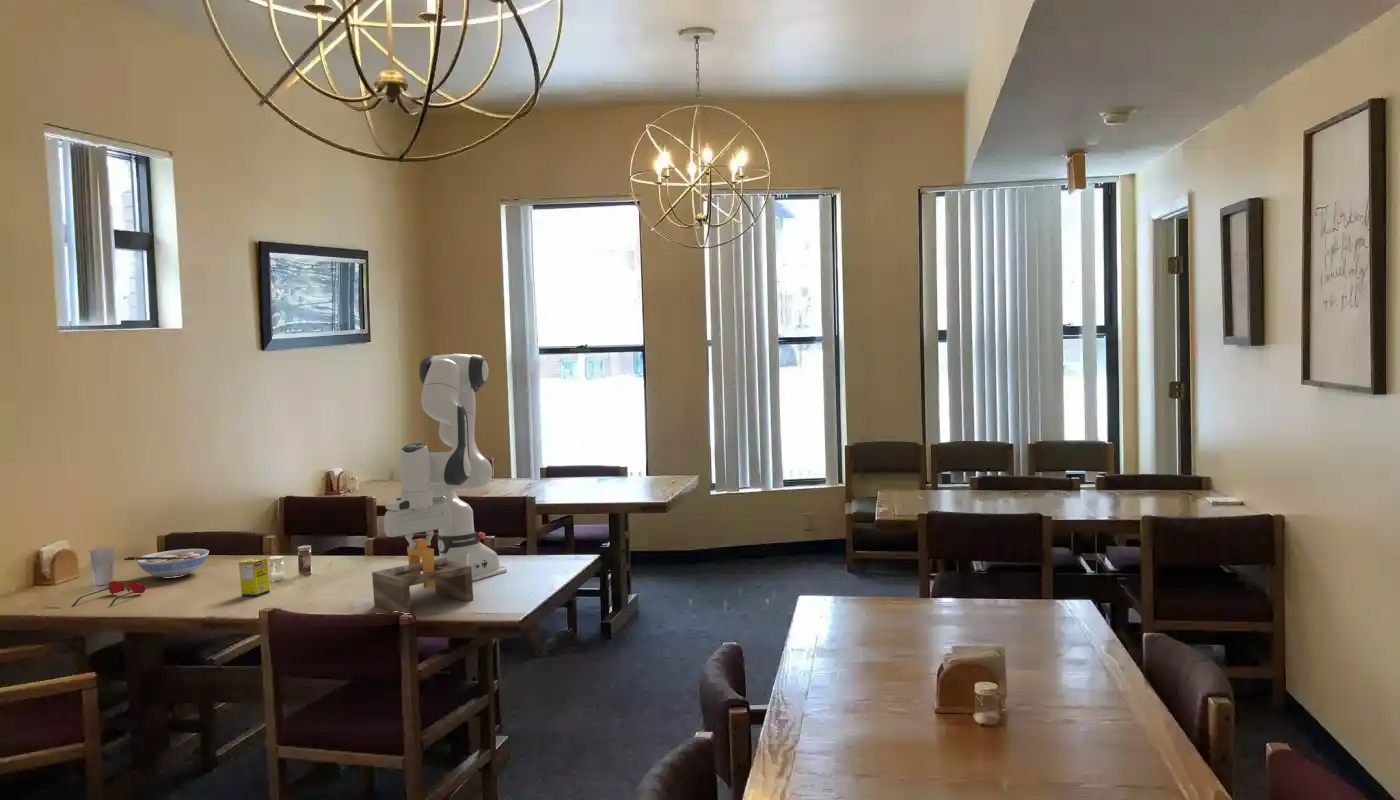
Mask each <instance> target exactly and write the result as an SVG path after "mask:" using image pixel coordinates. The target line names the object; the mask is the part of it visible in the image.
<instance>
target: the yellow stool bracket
mask: <svg viewBox="0 0 1400 800" xmlns="http://www.w3.org/2000/svg"><path fill="white" fill-rule="evenodd" d="M412 540H413V542H416V543H417V548H416V549H410V546H409V545H408V546H407V547H406V550H407V552H406V553H407V556H408V559H407V560H408V565H410V564H415V563H420V562H422V566H423V571H421V569H420V570H415V571H411V572H413V573H416V574H424V573H429V572H433V571H434V560H435V559H434V556H435V549H434V548H431V547H428V546H427V539H426V538H423V537H422V538H417V539H412ZM433 587H434V588H435V581H431V582H426V583H423V588H424V589H429V588H433Z"/></svg>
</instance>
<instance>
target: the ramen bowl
mask: <svg viewBox="0 0 1400 800" xmlns="http://www.w3.org/2000/svg"><path fill="white" fill-rule="evenodd" d="M209 553H210V550H208V549H206V548H205V549H204V548H185V549H183V548H182V549H175V550H174V549H172V550H166V551H159V552H154V553H153V552H152V553H150V554H146V555H142V556H140V557H139V556H128V557H125V558H123V560H124V561H135V562H136V564H137V565H138V566H139V567H140V569H142V570H143V572H145V573H146V574H148V575H151V576H154V577H159V578H162V577H173V576H181V575H185V574H187V575H189V574H190V573H193V572H194V571H196V570H198V569H199V568H200V567H201V566H202V565H203V564H204V563H205V561H206V559H207V558H208V555H209Z"/></svg>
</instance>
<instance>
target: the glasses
mask: <svg viewBox="0 0 1400 800" xmlns="http://www.w3.org/2000/svg"><path fill="white" fill-rule="evenodd" d="M125 583H129V584H127V587H128V588H127V591H128V593H124V594H123V595H118V596H117V597H115V598H114V599H113V600H112V601H111V603H110V604H109V606H111V605H112V606H113V605H114V603H115V601H116V600H117V599H119V598H122V597H125V596H128V595H131V594H133V593H134V594H135V593H142V594H143V593H145V592H146V590H147V588H148V587H147V586H146V585H144V583H143V582H142V581H139V580H138V581H137V580H129V581H128V580H125V581H124V580H113V581H110V582H109V583H108V586H107V588H103V589H101V590H98V591H95V592H92V593H88V594H85V595H83V596H82V595H81V596H79V598H78V599H76V601H75V602H74V603H73V604H72V605H71V608H74V607H75V606H76V604H77V603H78V602H79V601H80V600H81V599H82V598H85V597H87V596H91V595H94V594H98V593H100V592H103V591H107V590H108V592H109V593H110V594H111V593H116V594H118V593H121V592H124V591H125ZM73 606H74V607H73ZM112 606H111V607H112Z"/></svg>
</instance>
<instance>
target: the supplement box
mask: <svg viewBox="0 0 1400 800" xmlns="http://www.w3.org/2000/svg"><path fill="white" fill-rule="evenodd" d="M238 568H239V578H240V579H239V580H240V592H241V593H240V594H241V596H242V595H244V596H243V597H255V596H257V597H259V595H260V596H263V595H265V594H270V591H271V589H270V579H269V578H270V577H269V566H268V558H263V557H262V558H259V557H251V558H247V559H244V560H240V561H239V562H238Z"/></svg>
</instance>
